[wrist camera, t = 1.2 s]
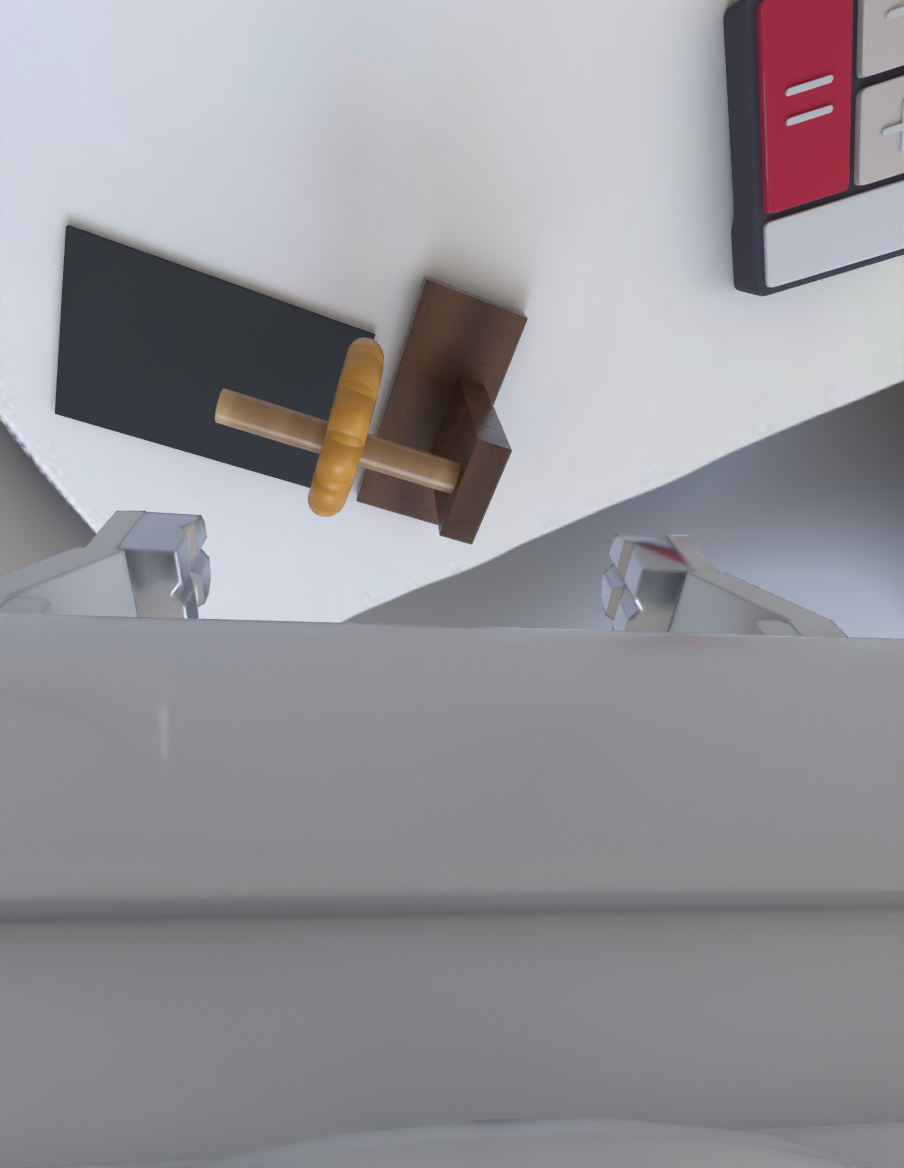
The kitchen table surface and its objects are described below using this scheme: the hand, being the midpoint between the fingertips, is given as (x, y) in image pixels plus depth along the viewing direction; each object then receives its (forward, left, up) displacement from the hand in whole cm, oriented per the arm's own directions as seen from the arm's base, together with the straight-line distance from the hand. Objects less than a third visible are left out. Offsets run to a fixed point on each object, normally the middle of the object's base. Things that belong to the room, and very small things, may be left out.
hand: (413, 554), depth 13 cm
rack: (+3, -6, -35) cm, 36 cm away
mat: (-6, -12, -35) cm, 38 cm away
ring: (+1, -7, -25) cm, 26 cm away
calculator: (+14, +23, -35) cm, 44 cm away
